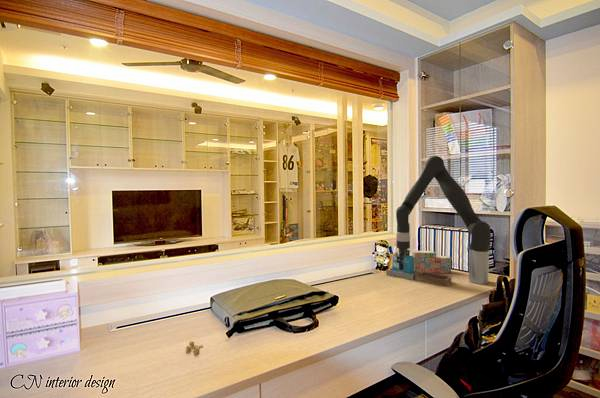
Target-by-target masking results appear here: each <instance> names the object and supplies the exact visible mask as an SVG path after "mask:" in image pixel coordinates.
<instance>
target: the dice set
mask: <svg viewBox="0 0 600 398" xmlns="http://www.w3.org/2000/svg"><path fill="white" fill-rule="evenodd" d="M203 347H204V345H203V344H200V345H197V344H195V341H189V343H188V345H187V346H186V347H185V348H186V352H187V353H190V352H192V348H193V351H194V354H195V355H197V354H200V349H201V348H203Z"/></svg>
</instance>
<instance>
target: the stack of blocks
mask: <svg viewBox="0 0 600 398" xmlns="http://www.w3.org/2000/svg"><path fill="white" fill-rule="evenodd" d="M411 251H412V253H411V256H413V257H414V270H416V271H420V272H427V273H433V274H440V273H441V274H451V273H452V257H450V256H448V255H436V254H437V253H436V252H435V251H434V250H411Z"/></svg>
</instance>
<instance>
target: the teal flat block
mask: <svg viewBox="0 0 600 398" xmlns="http://www.w3.org/2000/svg"><path fill="white" fill-rule="evenodd" d="M401 258H403V257H401ZM391 259H392V262H391V264H392V265H391V266H392V267H391V268H392V271H397V272H403V273H409V274H413V273H414V257H413V256H412V255H405V256H404V260H403V270H399V263H397V257H396V253H394V254H393V255H392V257H391ZM398 260H399V259H398Z"/></svg>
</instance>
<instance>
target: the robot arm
mask: <svg viewBox="0 0 600 398" xmlns="http://www.w3.org/2000/svg"><path fill="white" fill-rule="evenodd" d="M434 179H435V180H436V181H437V183H438V185H439V186H440V189H441V191H442V193H443V194H444V196H445V198H446V199H447V201H448V202H449V204H450V205H451V206H452V208H453V209H454V210H455V212H456V213H457V214H458V216H460V218H461V220H462V222H463V223H464V225H465V227H466V229H467V230H468V233H469V234H470V235H471V236H470V239H471V240H470V244H469V249H468V251H469V255H468V281H469V282H470V283H473V284H477V285H488V284H489V269H490V268H489V260H490V256H489V255H490V254H489V253H490V246H491V239H492V236H491V235H492V234H491V233H492V230H491V226H490V224H488V222H486V221H483V220H481V219H480V218H479V216H478V215H477V213H476V212H475V211H474V209H473V207H472V204H471V201H470V199H469V196H468V195H467V193H466V192H465V191H464V189H463V188H462V186H461V185H460V184H459V183H458V181H456V180H455V179H454V178H453V176H451V174H450V173H449V171H448V169H447V167H446V166H445V161H444V160H443V158H442V157H441V156H438V155H433V156H430V157H429V158H428V159H427V160H426V162H425V166H424V168H423V170H422V172H421V174H420V176H419V177H418V179H417V181H415V183H414V184H413V185H412V187H411V188H410V189H409V191H408V192H407V194H406V196H405V198H404V200H403V201H402V203H401V205H400V206H398V207H397V208H396V211H395V214H396V224H397V225H396V236H395V237H396V238H395V239H396V242H395V243H396V248H397V249H398V252H396V253H395V254H396V257H397V263H399V270H403V260H404V256H405V255H409V256H411V255H410V252H411V250H410V249H411V232H410V230H411V229H410V228H411V227H410V226H411V225H410V222H409V221H410V220H409V219H410V218H409V217H410V215H411V213H412V211H413V210H414V208H415V206H416V204H418V202H419V201H420V199H421V198H422V196H423V195H424V193H425V191H426V190H427V188H428V186H429V184H431V182H432V180H434ZM401 257H403V258H401ZM398 259H399V260H398Z"/></svg>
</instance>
